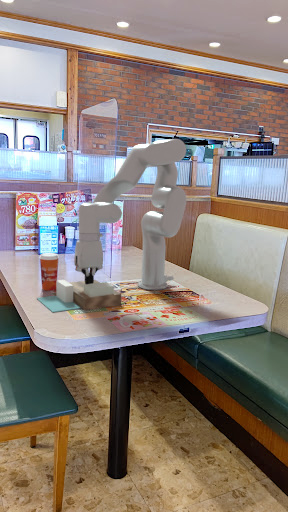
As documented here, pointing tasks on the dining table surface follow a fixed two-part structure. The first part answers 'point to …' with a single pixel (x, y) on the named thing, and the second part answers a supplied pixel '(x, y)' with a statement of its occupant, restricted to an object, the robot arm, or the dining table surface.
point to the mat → (57, 304)
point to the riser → (93, 302)
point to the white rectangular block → (64, 291)
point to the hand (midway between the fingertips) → (89, 285)
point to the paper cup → (49, 270)
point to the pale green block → (98, 289)
